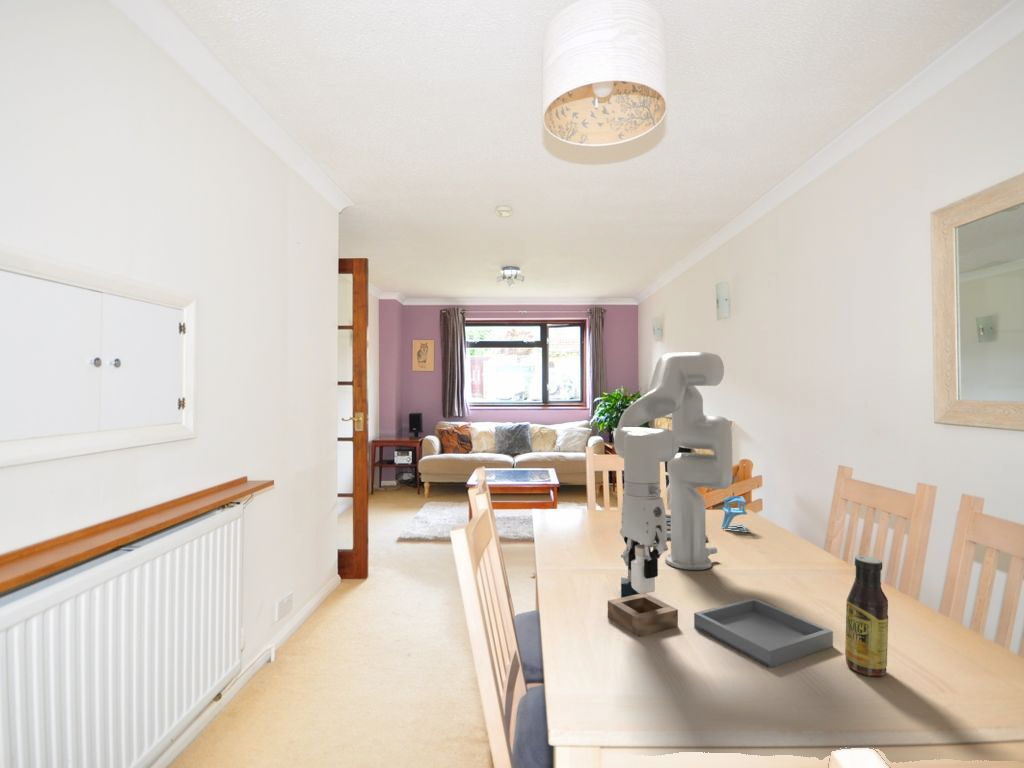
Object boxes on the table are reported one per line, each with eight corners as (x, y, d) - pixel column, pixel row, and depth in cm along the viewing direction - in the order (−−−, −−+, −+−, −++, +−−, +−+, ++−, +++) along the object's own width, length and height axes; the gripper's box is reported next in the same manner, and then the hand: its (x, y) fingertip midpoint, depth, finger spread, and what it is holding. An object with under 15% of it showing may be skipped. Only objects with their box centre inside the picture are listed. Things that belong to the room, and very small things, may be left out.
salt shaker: (639, 595, 111) (638, 550, 111) (630, 587, 115) (629, 544, 115) (656, 592, 112) (655, 548, 112) (646, 585, 116) (646, 542, 116)
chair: (719, 526, 192) (719, 493, 192) (743, 527, 191) (743, 494, 191) (725, 532, 184) (724, 498, 184) (750, 533, 183) (749, 498, 183)
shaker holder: (644, 607, 120) (644, 592, 120) (677, 626, 111) (677, 609, 111) (607, 616, 116) (607, 600, 116) (638, 636, 106) (638, 619, 106)
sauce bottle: (837, 661, 97) (836, 552, 97) (869, 659, 97) (868, 551, 97) (863, 680, 90) (863, 564, 90) (898, 679, 91) (897, 563, 91)
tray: (753, 611, 118) (753, 597, 118) (832, 646, 102) (832, 630, 102) (694, 627, 110) (694, 612, 110) (769, 668, 94) (769, 651, 94)
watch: (643, 588, 132) (643, 544, 132) (644, 601, 124) (644, 554, 124) (620, 587, 133) (620, 543, 133) (620, 599, 125) (620, 553, 125)
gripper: (683, 494, 108) (684, 583, 108) (630, 480, 123) (631, 558, 123) (655, 498, 104) (656, 590, 105) (604, 483, 120) (605, 564, 120)
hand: (642, 572), depth 114 cm, fingers closed on salt shaker, 4 cm apart
